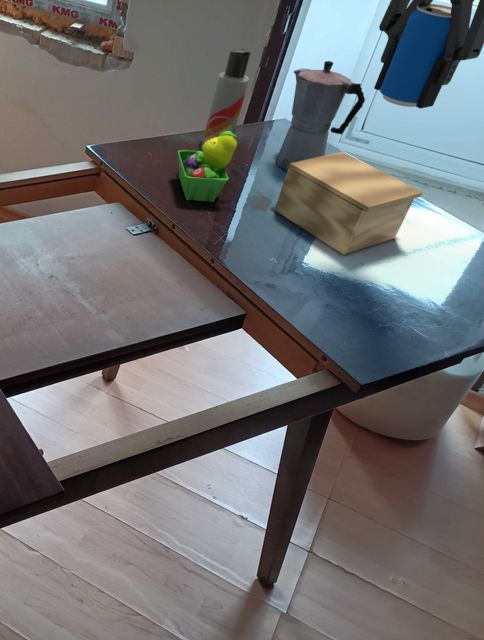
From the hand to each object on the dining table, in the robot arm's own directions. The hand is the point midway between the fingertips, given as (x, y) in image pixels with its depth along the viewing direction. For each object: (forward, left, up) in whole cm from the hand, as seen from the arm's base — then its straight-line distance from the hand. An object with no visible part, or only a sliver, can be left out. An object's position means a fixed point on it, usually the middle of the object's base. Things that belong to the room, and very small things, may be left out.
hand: (402, 96), depth 98 cm
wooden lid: (+5, -4, -16) cm, 17 cm away
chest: (+5, -4, -25) cm, 26 cm away
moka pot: (+25, -17, -25) cm, 39 cm away
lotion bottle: (+37, -5, -25) cm, 45 cm away
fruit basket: (+25, +9, -25) cm, 37 cm away
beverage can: (0, 0, -1) cm, 1 cm away
